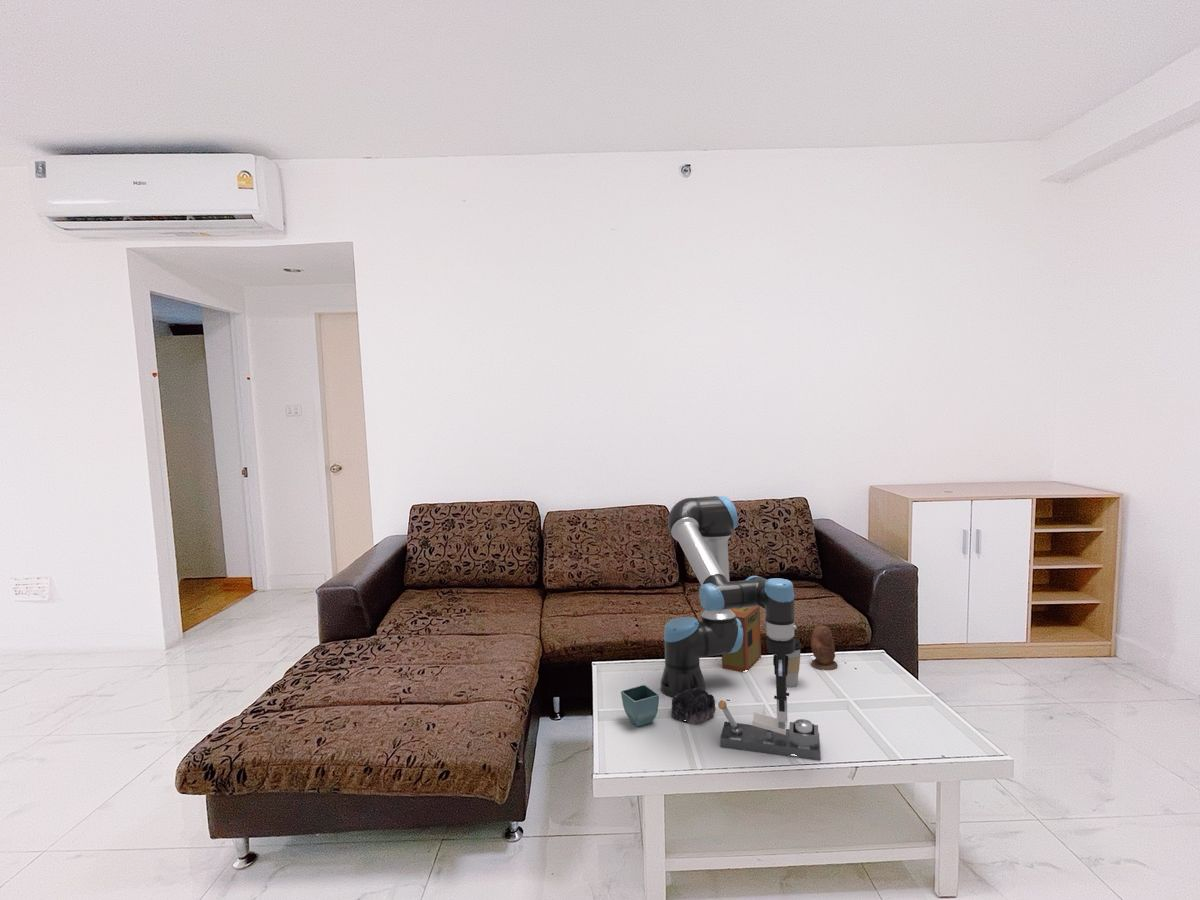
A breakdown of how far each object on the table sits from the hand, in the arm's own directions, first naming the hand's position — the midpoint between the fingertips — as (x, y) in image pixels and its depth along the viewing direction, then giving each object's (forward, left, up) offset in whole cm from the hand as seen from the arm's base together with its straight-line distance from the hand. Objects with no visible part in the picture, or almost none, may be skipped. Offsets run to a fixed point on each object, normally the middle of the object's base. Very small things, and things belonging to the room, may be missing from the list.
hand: (782, 720), depth 166 cm
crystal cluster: (-27, +12, -7) cm, 30 cm away
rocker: (-3, 0, -1) cm, 4 cm away
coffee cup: (+1, +42, -7) cm, 43 cm away
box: (-16, +57, -7) cm, 60 cm away
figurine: (+13, +61, -7) cm, 63 cm away
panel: (-3, 0, -7) cm, 8 cm away
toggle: (-12, 0, -4) cm, 13 cm away
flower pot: (-41, +3, -7) cm, 42 cm away
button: (+6, 0, -4) cm, 7 cm away
